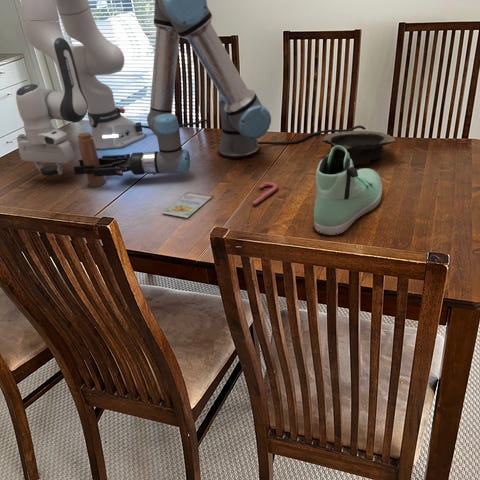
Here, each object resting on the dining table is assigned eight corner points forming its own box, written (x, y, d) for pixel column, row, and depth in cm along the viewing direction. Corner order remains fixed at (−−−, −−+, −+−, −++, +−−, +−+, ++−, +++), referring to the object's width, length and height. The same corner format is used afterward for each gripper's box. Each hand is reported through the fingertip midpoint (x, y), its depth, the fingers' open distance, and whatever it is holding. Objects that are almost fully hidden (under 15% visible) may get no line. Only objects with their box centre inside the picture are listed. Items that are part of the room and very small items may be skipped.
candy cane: (239, 202, 147) (239, 198, 146) (265, 183, 157) (265, 179, 156) (255, 207, 144) (255, 202, 143) (281, 187, 154) (281, 183, 153)
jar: (104, 184, 166) (92, 135, 156) (89, 187, 165) (76, 138, 155) (103, 179, 170) (91, 130, 161) (89, 182, 169) (76, 133, 160)
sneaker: (389, 187, 148) (396, 123, 138) (356, 242, 123) (361, 168, 112) (346, 181, 154) (350, 119, 144) (306, 232, 129) (307, 161, 118)
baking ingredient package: (162, 212, 143) (188, 192, 155) (162, 213, 144) (188, 193, 155) (187, 216, 140) (211, 196, 151) (187, 218, 140) (212, 197, 151)
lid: (53, 168, 173) (52, 163, 172) (62, 171, 169) (61, 167, 168) (39, 173, 169) (37, 169, 168) (47, 177, 165) (46, 173, 165)
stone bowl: (352, 176, 156) (352, 149, 152) (308, 158, 177) (307, 134, 172) (409, 157, 165) (411, 131, 161) (361, 143, 185) (362, 119, 181)
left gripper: (9, 137, 163) (21, 174, 170) (59, 139, 157) (70, 178, 164) (21, 131, 168) (33, 168, 175) (71, 133, 162) (80, 171, 169)
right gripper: (140, 184, 157) (71, 188, 158) (151, 163, 173) (87, 166, 174) (136, 163, 153) (65, 167, 154) (147, 143, 169) (82, 147, 170)
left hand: (51, 173), depth 169 cm, fingers closed on lid, 6 cm apart
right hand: (77, 167), depth 164 cm, fingers closed on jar, 5 cm apart
